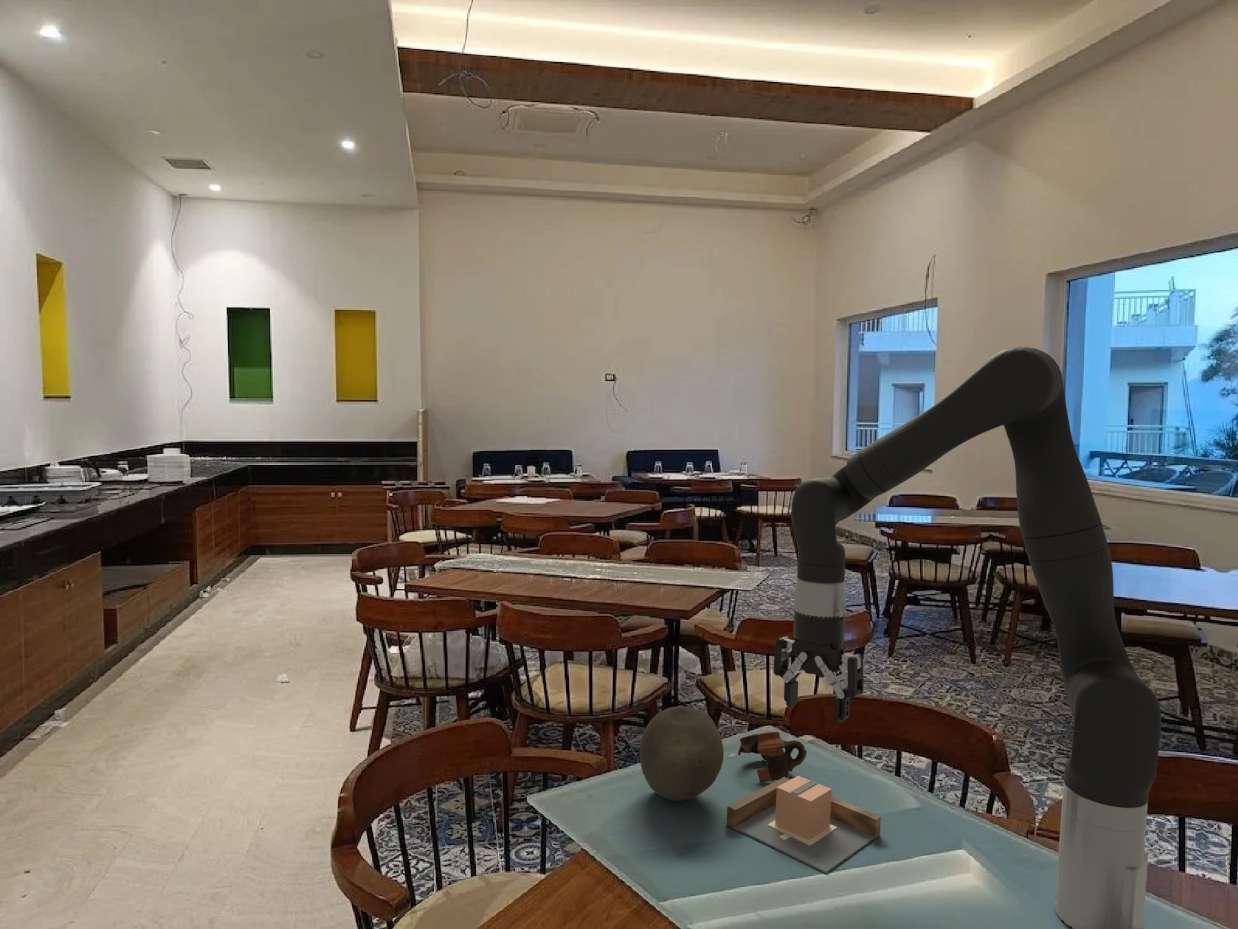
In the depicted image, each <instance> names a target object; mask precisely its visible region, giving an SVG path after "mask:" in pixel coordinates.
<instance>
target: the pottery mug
mask: <svg viewBox="0 0 1238 929" xmlns="http://www.w3.org/2000/svg"><path fill="white" fill-rule="evenodd" d="M780 734H781V733H780V732H779V731H767V732H761V733H756V734H755V733H754V734H751V735H746V736H743V737H741V738H740V739H739V742H740V747H738V751H737V755H738V756H741V754H742V753H743V754H751V753H752V754H757V755H760V756H761V758H762V759H763V761H764V760H766V761H765V762H766V766H765V767H761V768H757V770H756V773H757V776H758V781H759V782H760V783H767V782H768V783H769V782H772V781H773V782H775V781H777V780H779V779H781V778H783V777H786V778H788V779H789V774H790V773H792V772H793V770H794V769H795V768H796V767H797V766H800V765H801V764H803V762H804V761H805V759H806V757H807V752H808V751H807V750H806V748H805V744H803V742H801V741H799V740H789V741H788V740H784V739H783V738H781V735H780ZM794 749H796V750H797V751H798V754H797V756H796V757H795V758H793V757H792V755H791V754H792V752H793V751H794Z"/></svg>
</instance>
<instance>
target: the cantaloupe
mask: <svg viewBox="0 0 1238 929" xmlns="http://www.w3.org/2000/svg"><path fill="white" fill-rule="evenodd" d="M640 740H641V741H640V745H639V762H640V764H639V765H640V767H641V771H642V774H643V776H644V778H645V780H646V782H647V784H648V786H649V787H650V789H651V790H653V792H654V793H656V794H657V795H659V796H660V797H662V798H664V799H666V800H668V801H673V802H679V801H687V800H690V799H693V798H696V797H697V796H699V795H701V794H702V793H704V792H705V791H706V790H708V789H709V788H711V786H712V785H713V784H714V782H715V781H716V779H717V777H718V776H719V773H720V771H721V768H722V766H723V763H724V745H723V739H722V736H721V734H720V732H719V729H718V727H717V725H716V724H715V722H714V720H713V719H712V718H711V716H709V714H707V713H705V711H703V710H701V709H699V708H695V707H689V706H683V705H681V706H672V707H668V708H665V709H663V710H661V711H659V712H658V713H657V714H656V715H654V716H653V717H652V719H650V721H649V723H648V724H647V725H646V727H645V729H644V731H643V734H642V737H641V739H640Z"/></svg>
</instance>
